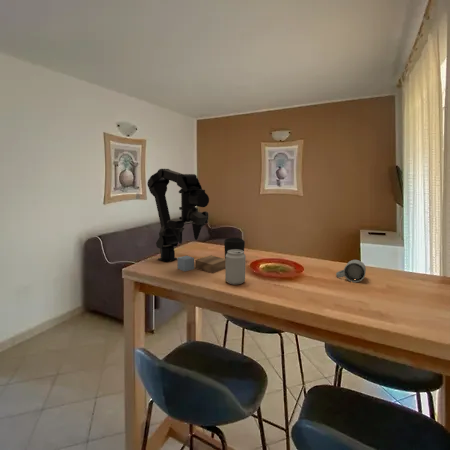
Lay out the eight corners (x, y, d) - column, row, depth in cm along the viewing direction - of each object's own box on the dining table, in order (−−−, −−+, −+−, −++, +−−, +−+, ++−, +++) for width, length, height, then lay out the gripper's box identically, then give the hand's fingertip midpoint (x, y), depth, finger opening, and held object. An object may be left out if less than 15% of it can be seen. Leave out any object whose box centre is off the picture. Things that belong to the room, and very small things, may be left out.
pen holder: (220, 261, 141) (220, 240, 139) (230, 257, 149) (231, 236, 147) (238, 264, 136) (238, 243, 134) (247, 260, 144) (248, 239, 142)
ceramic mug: (365, 277, 121) (366, 258, 120) (364, 284, 114) (366, 264, 113) (337, 273, 126) (338, 255, 125) (334, 279, 119) (335, 260, 117)
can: (243, 286, 111) (244, 254, 109) (223, 284, 112) (223, 253, 110) (246, 279, 118) (246, 249, 116) (227, 277, 119) (227, 248, 117)
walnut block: (195, 269, 131) (195, 260, 130) (211, 263, 139) (211, 255, 138) (212, 274, 125) (212, 264, 124) (228, 268, 132) (228, 259, 132)
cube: (177, 268, 130) (177, 257, 129) (187, 266, 133) (186, 255, 133) (184, 271, 126) (184, 260, 126) (194, 269, 130) (194, 257, 129)
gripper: (185, 208, 114) (186, 249, 116) (217, 204, 128) (217, 240, 131) (165, 206, 120) (166, 244, 123) (198, 202, 135) (198, 237, 138)
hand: (188, 241), depth 128 cm, fingers open, 9 cm apart
